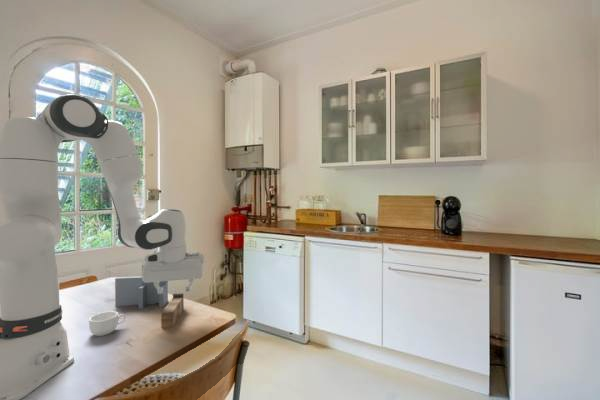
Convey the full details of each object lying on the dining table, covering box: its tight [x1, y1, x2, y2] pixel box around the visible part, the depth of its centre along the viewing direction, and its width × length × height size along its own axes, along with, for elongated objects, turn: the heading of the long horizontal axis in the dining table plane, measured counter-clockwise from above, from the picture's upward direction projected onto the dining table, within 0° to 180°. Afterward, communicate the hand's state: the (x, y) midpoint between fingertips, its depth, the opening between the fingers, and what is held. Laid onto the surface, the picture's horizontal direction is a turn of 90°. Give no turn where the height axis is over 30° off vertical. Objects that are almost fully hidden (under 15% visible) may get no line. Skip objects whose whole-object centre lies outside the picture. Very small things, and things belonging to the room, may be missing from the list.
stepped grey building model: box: [114, 263, 169, 309], centre depth 113 cm, size 6×19×18 cm, turn 99°
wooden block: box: [160, 292, 185, 329], centre depth 102 cm, size 16×4×6 cm, turn 9°
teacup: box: [88, 310, 126, 337], centre depth 92 cm, size 10×8×5 cm
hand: (174, 292), depth 102 cm, fingers open, 8 cm apart
